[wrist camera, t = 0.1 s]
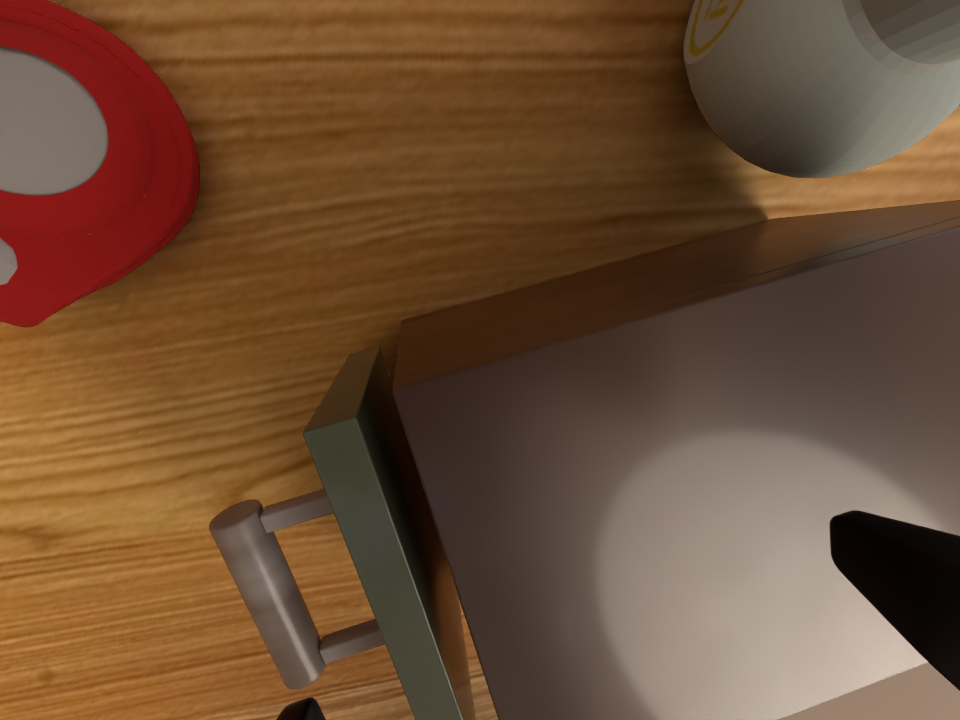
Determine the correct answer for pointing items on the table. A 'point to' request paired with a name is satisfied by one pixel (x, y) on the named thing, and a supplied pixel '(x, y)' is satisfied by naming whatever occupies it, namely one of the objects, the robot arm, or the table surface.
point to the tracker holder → (82, 160)
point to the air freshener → (823, 78)
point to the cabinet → (691, 462)
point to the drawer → (358, 551)
